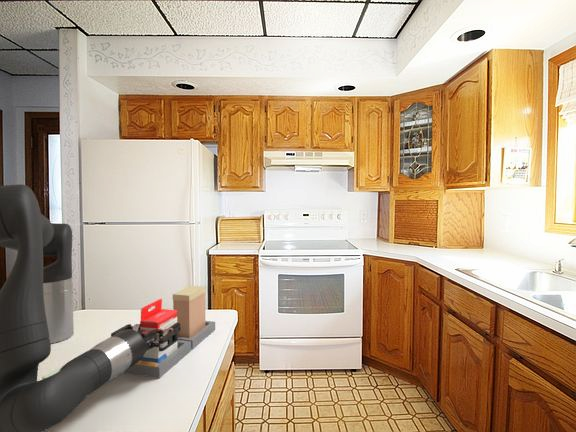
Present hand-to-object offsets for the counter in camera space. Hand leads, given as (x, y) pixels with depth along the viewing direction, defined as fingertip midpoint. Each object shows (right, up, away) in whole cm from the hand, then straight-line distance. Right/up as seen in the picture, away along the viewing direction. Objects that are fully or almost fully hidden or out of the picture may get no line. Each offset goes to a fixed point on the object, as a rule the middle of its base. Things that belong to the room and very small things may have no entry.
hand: (164, 324), depth 79 cm
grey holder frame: (+1, -8, +5) cm, 10 cm away
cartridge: (+3, -8, +12) cm, 15 cm away
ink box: (0, -9, -2) cm, 9 cm away
